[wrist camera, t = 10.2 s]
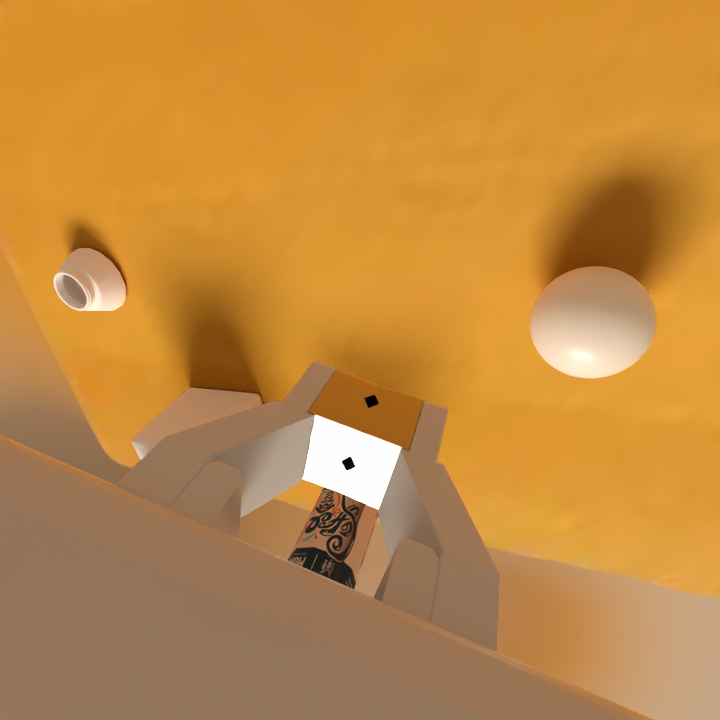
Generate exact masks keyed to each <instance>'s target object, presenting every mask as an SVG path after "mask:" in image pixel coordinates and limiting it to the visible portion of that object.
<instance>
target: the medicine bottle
mask: <svg viewBox="0 0 720 720" xmlns="http://www.w3.org/2000/svg"><path fill="white" fill-rule="evenodd" d="M260 405H263V404H262V401H261V397H260V395H259V394H256V393H245V392H235V391H224V390H213V389H203V388H192V387H191V388H188V389H187V390H186V391H185V392H184V393H183V394H181V395H180V396H179V397H178V398H177V399H176V400H175V401H174V402H173V403H172V404H170V405H169V406H168V407H167V408H166V409H165V410H164V411H163V412H162V413H160V414H159V415H158V416H157V417H156V418H155V419H154V420H153V421H152V422H150V423H149V424H148V425H147V426H146V427H145V428H144V429H143V430H142V431H140V432H139V433H138V434H137V435H136V436H135V437H134V438H133V440H132V444H133V446H134V448H135V450H136V452H137V454H138V456H139V458H140V460H142V459H143V458H144V457H145V456H146V455H147V454H148V453H149V452H150V451H151V450H152V449H153V448H154V447H155V446H156V445H157V444H158V443H159V442H160V441H161V440H162V439H163V438H164V437H166V436H169V435H172V434H175V433H178V432H181V431H184V430H187V429H190V428H193V427H196V426H199V425H202V424H205V423H208V422H211V421H214V420H217V419H221V418H224V417H227V416H230V415H233V414H236V413H239V412H242V411H245V410H248V409H251V408H254V407H257V406H260Z"/></svg>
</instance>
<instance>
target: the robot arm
mask: <svg viewBox="0 0 720 720" xmlns="http://www.w3.org/2000/svg"><path fill="white" fill-rule="evenodd" d="M447 413H448V409H447V407H444V406H441V405H438V404H435V403H432V402H429V401H426V400H424V401H423V400H420V399H418V398H415V397H412V396H409V395H406V394H403V393H401V392H398V391H395V390H392V389H389V388H387V387H384V386H381V385H379V384H377V383H374V382H372V381H369V380H366V379H364V378H361V377H359V376H356V375H353V374H351V373H348V372H346V371H343V370H340V369H337V368H335V367H332V366H329V365H327V364H324V363H321V362H318V361H316V362H314V363H312V364H311V365H310V367H309V368H308V369H307V371H306V372H305V373H304V375H303V376H302V377H301V378H300V380H299V381H298V382H297V384H296V385H295V386H294V388H293V389H292V390H291V391H290V393H289V394H288V395H287V397H286V398H285V399H284V401H283V402H282V403H281V402H278V401H272V402H269V403H266V404H263V405H260V406H257V407H254V408H251V409H248V410H245V411H242V412H239V413H236V414H233V415H230V416H227V417H224V418H221V419H217V420H214V421H211V422H208V423H205V424H202V425H199V426H196V427H193V428H190V429H187V430H184V431H181V432H178V433H175V434H172V435H169V436H166V437H164V438H163V439H162V440H161V441H160V442H159V443H158V444H157V445H156V446H155V447H154V448H153V449H152V450H151V451H150V452H149V453H148V454H147V455H146V456H145V457H144V458H143V459H142V460H141V461H140V462H138V463H137V464H136V465H135V466H134V467H133V468H132V469H131V470H130V471H129V472H128V473H127V474H126V475H125V476H124V477H123V478H122V479H121V480H120V481H119V482H118V483H117V484H116V485H114V484H111V483H109V482H107V481H104V480H102V479H100V478H97V477H95V476H93V475H91V474H88V473H86V472H84V471H81V470H79V469H77V468H75V467H72V466H70V465H67V464H65V463H63V462H61V461H58V460H56V459H54V458H52V457H49V456H47V455H45V454H42V453H40V452H38V451H35V450H33V449H31V448H29V447H26V446H24V445H22V444H20V443H17V442H15V441H13V440H10V439H8V438H6V437H4V436H1V435H0V720H653V719H650V718H648V717H646V716H644V715H641V714H639V713H637V712H635V711H632V710H630V709H627V708H625V707H623V706H621V705H618V704H616V703H614V702H611V701H609V700H607V699H604V698H602V697H600V696H598V695H595V694H593V693H591V692H589V691H586V690H584V689H581V688H580V687H577V686H575V685H573V684H570V683H568V682H566V681H563V680H561V679H559V678H557V677H554V676H552V675H550V674H547V673H545V672H543V671H541V670H538V669H536V668H533V667H531V666H529V665H527V664H524V663H522V662H520V661H518V660H515V659H513V658H511V657H508V656H506V655H504V654H502V653H499V652H497V651H496V650H497V624H498V600H499V573H498V571H497V568H496V567H495V564H494V563H493V561H492V559H491V557H490V555H489V553H488V551H487V549H486V547H485V545H484V543H483V541H482V539H481V537H480V535H479V533H478V531H477V529H476V527H475V525H474V523H473V521H472V519H471V517H470V515H469V513H468V511H467V509H466V507H465V505H464V503H463V501H462V499H461V497H460V496H459V494H458V492H457V490H456V488H455V486H454V484H453V482H452V480H451V478H450V476H449V474H448V472H447V470H446V468H445V466H444V465H443V464H441V463H439V462H437V458H438V454H439V449H440V445H441V440H442V436H443V431H444V427H445V422H446V417H447ZM302 479H305V480H308V481H310V482H313V483H316V484H318V485H321V486H324V487H326V488H329V489H332V490H334V491H337V492H340V493H342V494H344V495H347V496H349V497H351V498H354V499H356V500H358V501H360V502H363V503H365V504H367V505H370V506H372V507H374V508H377V509H378V514H379V519H380V523H381V527H382V531H383V535H384V539H385V544H386V548H387V552H388V556H389V561H390V563H389V565H388V567H387V570H386V572H385V574H384V576H383V578H382V580H381V583H380V585H379V587H378V589H377V591H376V594H375V596H374V598H372V597H370V596H368V595H366V594H363V593H361V592H359V591H356V590H354V589H352V588H350V587H347V586H345V585H343V584H340V583H338V582H336V581H333V580H331V579H329V578H327V577H324V576H322V575H320V574H317V573H315V572H313V571H310V570H308V569H306V568H304V567H301V566H299V565H297V564H294V563H292V562H290V561H288V560H285V559H283V558H281V557H278V556H276V555H274V554H272V553H269V552H267V551H265V550H262V549H260V548H258V547H256V546H253V545H251V544H249V543H246V542H244V541H242V540H240V539H239V529H240V518H241V517H243V516H245V515H246V514H248V513H250V512H251V511H253V510H254V509H256V508H258V507H259V506H261V505H263V504H264V503H266V502H267V501H269V500H271V499H273V498H274V497H276V496H278V495H279V494H281V493H283V492H284V491H286V490H288V489H289V488H291V487H293V486H294V485H296V484H297V483H299V482H301V481H302Z"/></svg>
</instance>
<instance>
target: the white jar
mask: <svg viewBox="0 0 720 720" xmlns="http://www.w3.org/2000/svg"><path fill="white" fill-rule="evenodd" d="M54 287H55V290H56V292H57V294H58V295H59V297H60V298H61V299H62V301H63V302H64V303H65V304H67V305H68V306H69V307H71V308H73V309H75V310H79V311H82V310H88V311H114V310H115V309H117V308H119V307H120V306H122V305H123V304H124V301H125V299H126V287H125V283H124V281H123V279H122V276H121V274H120V272H119V271H118V269H117V268H116V267H115V265H114V264H113V263H112V262H111V261H110V260H109V259H108V258H107V257H105V256H104V255H103V254H102V253H100V252H98V251H96V250H93V249H91V248H79V249H76V250H74V251H73V252H72V253H71V254H70V255H69V256H68V257H67V258H66V260H65V261H64V263H63V264H62V266H61V267H60V270H59V272H58V273H57V274H56V275H55V277H54Z"/></svg>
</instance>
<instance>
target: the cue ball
mask: <svg viewBox="0 0 720 720" xmlns="http://www.w3.org/2000/svg"><path fill="white" fill-rule="evenodd" d="M655 330H656V310H655V306H654V303H653V300H652V298H651V296H650V295H649V293H648V291H647V290H646V289H645V288H644V286H643V285H642V284H641V283H640V282H638V281H637V280H636V279H635V278H634V277H632V276H630V275H628V274H627V273H625V272H622V271H620V270H617V269H614V268H609V267H602V266H590V267H583V268H578V269H574V270H571V271H569V272H566V273H564V274H562V275H560V276H559V277H557V278H556V279H554V280H553V281H552V282H550V283H549V284H548V285H547V286H546V287H545V288H544V289H543V290H542V292H541V293H540V294H539V296H538V298H537V299H536V301H535V303H534V305H533V308H532V311H531V316H530V333H531V338H532V341H533V343H534V345H535V348H536V349H537V351H538V352H539V354H540V355H541V357H542V358H543V359H544V360H545V361H546V362H547V363H548V364H550V365H551V366H552V367H554V368H555V369H557V370H559V371H561V372H563V373H565V374H568V375H571V376H575V377H581V378H601V377H606V376H610V375H614V374H616V373H618V372H621V371H623V370H625V369H627V368H628V367H630V366H631V365H633V364H634V363H635V362H636V361H637V360H639V359H640V358H641V357H642V356H643V354H644V353H645V352H646V351H647V349H648V347H649V346H650V344H651V342H652V340H653V337H654V334H655Z"/></svg>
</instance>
